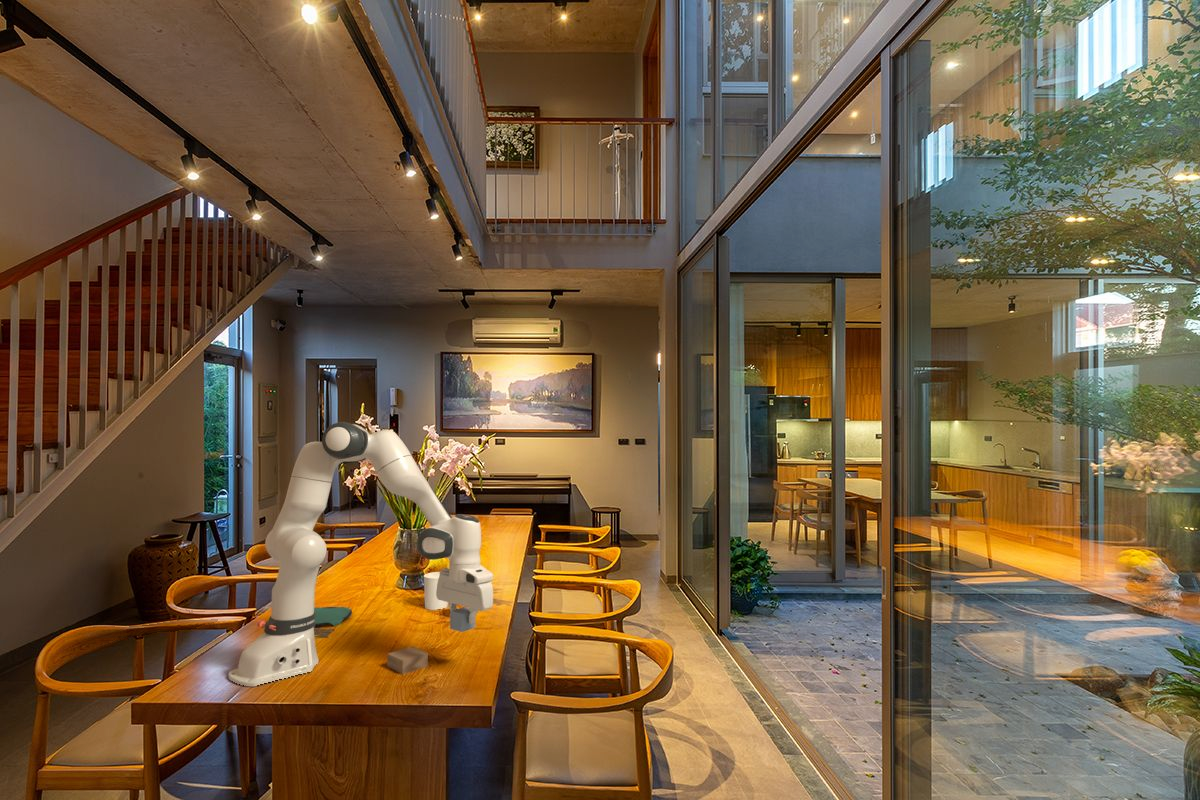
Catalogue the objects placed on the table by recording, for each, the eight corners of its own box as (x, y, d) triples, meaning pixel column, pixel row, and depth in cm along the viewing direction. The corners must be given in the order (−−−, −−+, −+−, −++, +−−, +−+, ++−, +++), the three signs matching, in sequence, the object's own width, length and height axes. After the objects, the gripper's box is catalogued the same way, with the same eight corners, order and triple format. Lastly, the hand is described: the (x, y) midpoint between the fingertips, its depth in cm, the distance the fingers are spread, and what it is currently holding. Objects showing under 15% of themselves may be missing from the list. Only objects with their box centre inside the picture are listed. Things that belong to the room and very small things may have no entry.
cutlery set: (358, 611, 230) (358, 604, 230) (333, 640, 200) (333, 633, 200) (302, 612, 228) (302, 606, 228) (267, 642, 198) (268, 635, 198)
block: (461, 632, 175) (462, 614, 175) (449, 628, 178) (450, 610, 178) (475, 628, 179) (475, 610, 180) (463, 624, 182) (463, 607, 182)
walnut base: (402, 675, 172) (402, 660, 172) (387, 667, 177) (387, 653, 177) (427, 667, 178) (428, 653, 178) (412, 660, 183) (412, 646, 183)
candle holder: (418, 606, 236) (419, 574, 237) (442, 601, 243) (442, 570, 243) (430, 612, 229) (431, 579, 229) (454, 607, 235) (455, 575, 236)
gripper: (432, 568, 183) (430, 616, 182) (481, 579, 171) (479, 630, 170) (448, 565, 188) (446, 611, 187) (497, 575, 176) (495, 625, 176)
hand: (462, 620), depth 179 cm, fingers closed on block, 5 cm apart
